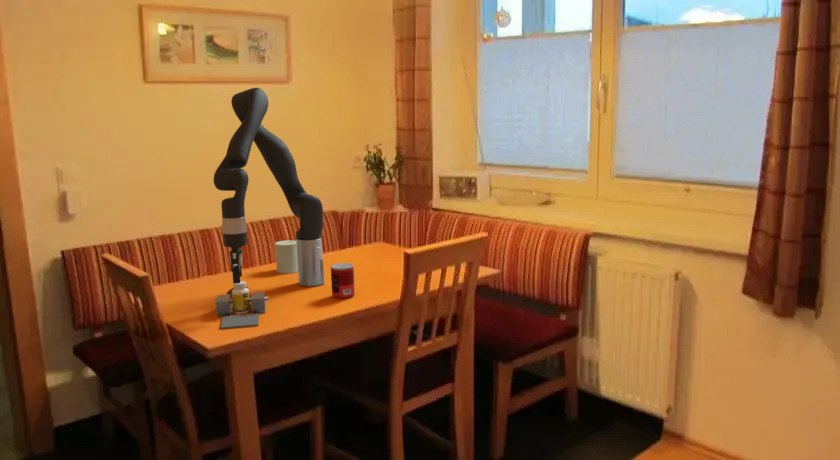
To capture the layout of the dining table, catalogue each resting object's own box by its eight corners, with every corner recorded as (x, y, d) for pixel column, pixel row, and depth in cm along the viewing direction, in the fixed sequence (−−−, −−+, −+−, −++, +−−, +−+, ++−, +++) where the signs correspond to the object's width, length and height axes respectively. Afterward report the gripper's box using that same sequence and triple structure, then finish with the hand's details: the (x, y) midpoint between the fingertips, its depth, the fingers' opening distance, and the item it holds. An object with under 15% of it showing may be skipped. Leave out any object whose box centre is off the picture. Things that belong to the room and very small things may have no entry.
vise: (268, 303, 237) (267, 289, 236) (268, 312, 227) (267, 298, 226) (216, 308, 234) (215, 293, 233) (213, 317, 224) (212, 302, 223)
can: (304, 269, 282) (303, 240, 280) (289, 274, 274) (287, 244, 272) (287, 266, 287) (286, 238, 284) (271, 272, 279) (269, 242, 277)
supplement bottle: (245, 314, 226) (243, 285, 224) (230, 313, 227) (227, 284, 225) (253, 309, 231) (250, 280, 230) (237, 308, 233) (235, 280, 231)
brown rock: (238, 303, 238) (237, 289, 238) (222, 301, 241) (221, 287, 240) (252, 296, 246) (251, 282, 245) (236, 295, 248) (235, 281, 248)
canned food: (358, 293, 246) (357, 263, 244) (348, 300, 239) (347, 268, 237) (338, 292, 249) (337, 262, 246) (328, 298, 241) (326, 267, 239)
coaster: (258, 315, 225) (258, 313, 225) (257, 325, 215) (257, 324, 214) (223, 318, 223) (223, 316, 223) (220, 329, 212) (220, 327, 212)
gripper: (245, 234, 218) (248, 284, 221) (247, 226, 232) (250, 273, 235) (220, 235, 217) (223, 286, 220) (224, 227, 231) (227, 275, 234)
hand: (237, 279), depth 227 cm, fingers open, 8 cm apart
